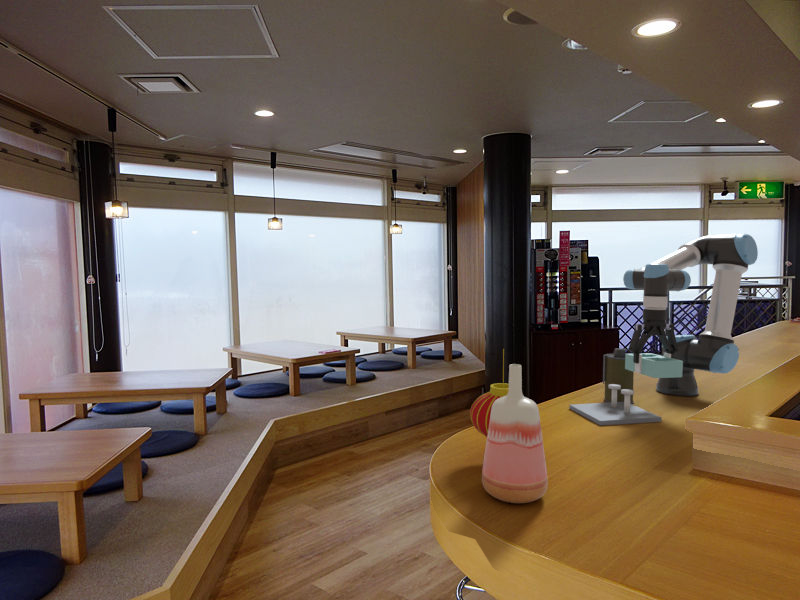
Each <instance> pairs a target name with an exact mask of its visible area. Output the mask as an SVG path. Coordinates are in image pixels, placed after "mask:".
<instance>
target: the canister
mask: <svg viewBox="0 0 800 600" xmlns="http://www.w3.org/2000/svg"><path fill="white" fill-rule="evenodd" d="M613 350H614V351H613V353H606V354H603V359H602V360H603V361H602V363H603V365H602V384H604V397H603V401H604V402H605V403H608V402H611V398H612V389H609V388H608V385H609V384H617V385H620V386H621V389H619V390H617V402H624V398H625V394H622V393H621V390H622V389H630V390H634V373H635V372H633V371H630V370H627V369H625V355H626V354H627V352H629V351H628V349H626V348H620V347H619V348H617V347H616V348H614V349H613ZM633 403H634V395H630V404H632V405H634V404H633Z"/></svg>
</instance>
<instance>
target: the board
mask: <svg viewBox="0 0 800 600" xmlns="http://www.w3.org/2000/svg"><path fill="white" fill-rule="evenodd" d="M608 388H609V389H612V398H611V402H594V403H575V404H569V409H570V410H571V411H573V412H575V413H577V414H578V415H580V416H582V417H583V418H586V419H588V420H589V421H591V422H593V423H595V424H597V425H599V426H614V425H631V424H644V423H645V424H646V423H659V422H662V416H661V415H660V416H659V415H658V414H656V413H652V412H651V411H649V410H646V409H644V408H641V407H639V406H636V405H634V404H630V395H633V396H634V395H635V390H634V389H633V390H630V389H622V390H621V393H622V394H625V398H624V402H617V390H619V389H621V386H620V385H617V384H609V385H608Z"/></svg>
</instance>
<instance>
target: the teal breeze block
mask: <svg viewBox="0 0 800 600" xmlns="http://www.w3.org/2000/svg"><path fill="white" fill-rule="evenodd" d="M640 354H642V373H639V374H640V375H644V376H647V377H650V378H653V379H659V378H675V377H682V370H683V361H681V360H677V359H673V358H668V357H664V356H662V355H661V354H655V353H652V352H651V353H647V352H646V353H642V352H641V353H640ZM633 355H634V354H633V353H626V355H625V369H627V370H630V371H633V372H634V373H636V372H635V363H634V362H633Z"/></svg>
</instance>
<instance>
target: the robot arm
mask: <svg viewBox="0 0 800 600" xmlns="http://www.w3.org/2000/svg"><path fill="white" fill-rule="evenodd" d="M758 250H759V249H758V246H757V242H756V240H755V239H754V237H753V236H752V235H750V234H746V233H732V234H730V233H729V234H715V235H714V234H712V235H704V236H701V237H698V238H695V239H693V240H690V241H689V242H685V243H684V244H682V245H680V246H679V247H678V248H677V250H676V251H673V252H672V253H670V254H667V255H665V256H664V257H661V258H660V259H657V260H656V261H654V262H652V263H647V264H645V265H644V266H643V267H641V268H637V269H635V268H633V269H628V270H626V271H625V273H624V275H623V277H622V278H623V279H622V280H623V285H624V286H625V288H627V289H628V290H635V291H637V290H640V291H641V290H642V291H643V302H642V303H643V304H642V307H643V309H642V320H643V321H642V323H641V324H639V323H635V324H634V327H633V329H634V330H633V333H632V337H631V340H630V343H629V345H628V348H627V350H628V351H627V352H629V353H631V354H634V355H633V362H634V363H635V372H634V373H637V374H640V373H642V354H640V353H642V351H643V350H644V347H645V346H646V344H647V342H648V340H649V339H650V338H651V337H652V336H653V337H654V336H656V337H658V339H659V341H660V343H661V356H664V357H668V358H673V359H677V360H681V361H683V370H682V377H675V378H658V380H657V383H656V384H655V385H656V387H655V388H656V389H655V390H656V391H657V392H660V393H661V394H666V395H670V396H671V395H672V396H679V397H680V396H681V397H693V396H697V395H699V386H698V382H697V379H696V377H695V370H697V371H703V372H710V373H713V374H728V373H730V372H731V371H733V370H734V369H735V367H736V366H737V363H738V361H739V357H740V352H739V347H738V345H736V343H735V339H734V338H733V337H732V329H733V324H734V319H735V314H736V307H737V302H738V297H739V292H740V287H741V282H742V275H744V274H745V273H746V272H748V269H749V266H751V265H754V264H755V263H756V262H757V260H758V253H759V251H758ZM698 265H712V268H713V270H715V274H714V280H713V286H712V292H711V296H710V302H709V307H708V311H707V316H706V323H705V328H704V331H702V332H701V333H700V334H699V335H698V339H696V338H697V337H696V336H695V335H694V334H675V325H674V323H669V322H668V323H666V320H667V319H668V310H667V308H668V302H669V301H668V294H669V292H680V291H685V290H687V289H688V288H689V287H690V285H691V282H692V279H691V275H690V274H689V272H687V271H685V269H686V268H693V267H695V266H698Z"/></svg>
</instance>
